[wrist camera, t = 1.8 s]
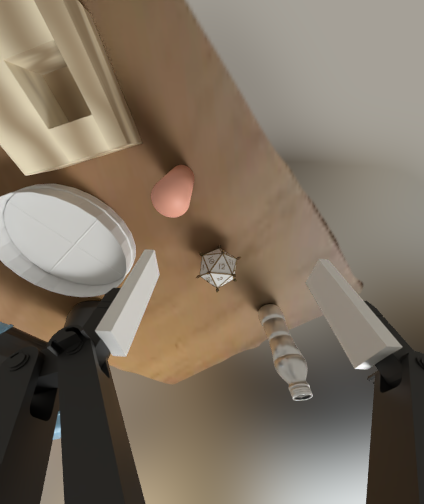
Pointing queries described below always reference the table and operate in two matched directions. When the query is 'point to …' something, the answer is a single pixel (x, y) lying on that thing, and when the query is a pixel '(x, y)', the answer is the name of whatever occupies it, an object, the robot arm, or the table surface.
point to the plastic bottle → (285, 352)
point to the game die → (218, 267)
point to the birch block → (57, 88)
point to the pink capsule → (173, 192)
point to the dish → (64, 240)
